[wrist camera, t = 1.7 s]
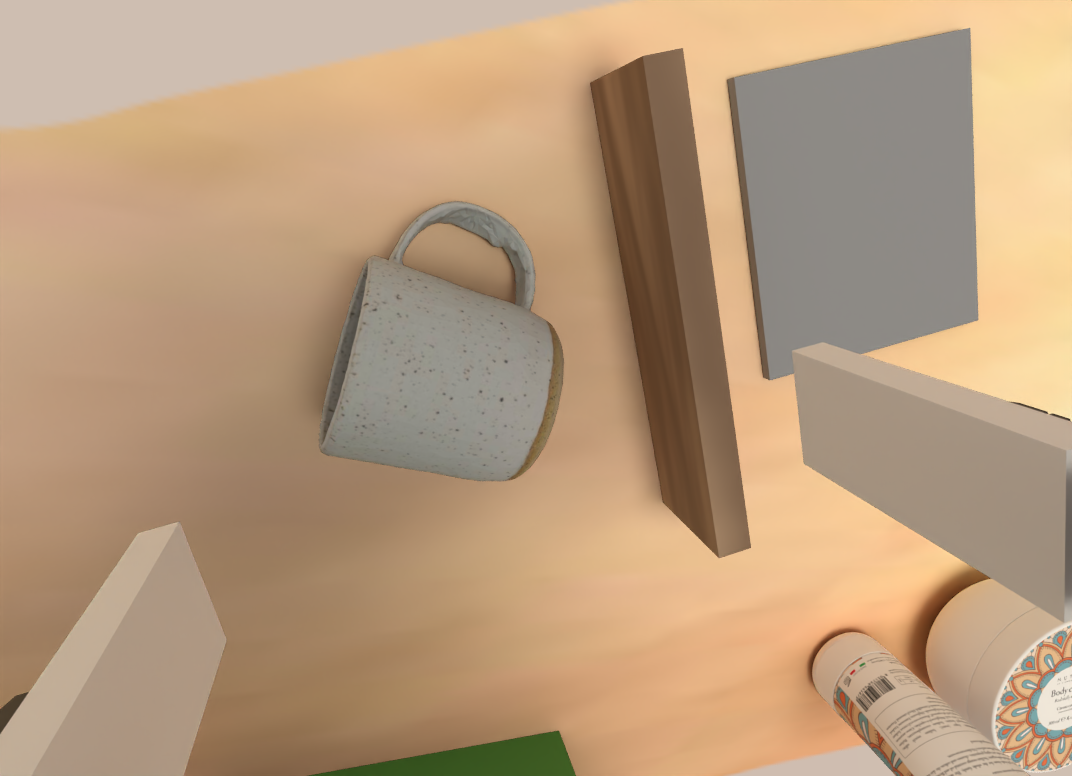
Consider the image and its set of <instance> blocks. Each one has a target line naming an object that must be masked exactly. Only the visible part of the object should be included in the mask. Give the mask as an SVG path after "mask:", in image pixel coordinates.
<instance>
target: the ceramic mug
mask: <svg viewBox="0 0 1072 776" xmlns="http://www.w3.org/2000/svg"><path fill="white" fill-rule="evenodd" d="M440 222H441V223H452V224H454V225H457V226H459V227H462V228H464V229H466V230H468V231H471V232H473V233H475V234H478V235H480V236H481V237H483V238H485V239H487V240H488V241H489V242H490V243H491V245H492V246H495V247H501V246H502V247H503V249H504V250H505V251H506V253H507V254H508V256H509V258H510V260H511V263H512V265H513V267H514V270H515V275H516V278H515V282H516V301H515V304H513V303H510V302H507V301H504V300H501V299H498V298H495V297H492V296H488V295H485V294H481V293H478V292H475V291H473V290H470V289H467V288H463V287H461V286H458V285H456V284H453V283H451V282H449V281H446V280H444V279H441V278H438V277H435V276H432V275H429V274H426V273H423V272H420V271H417V270H415V269H412V268H409V267H407V266H404V265H403V263H402V257H403V254H404V252H405V250H406V248H407V247H408V245H409V244H410V242H411V241H412V240H413V238H414V237H415V236H416V235H417V234H418V233H419V232H420V231H422V230H423V229H425V228H426V227H427V226H430V225H431V224H435V223H440ZM534 292H535V270H534V264H533V259H532V255H531V252H530V250H529V248H528V247H527V245H526V243H525V241H524V239H523V238H522V237H521V235H520V234H519V233H518V231H517V230H516V229H515V228H514V227H513V226H512V225H511V224H510V223H508V222H507V221H506V220H505V219H503V218H502V217H501V216H499V215H498V214H496V213H494V212H492V211H490V210H488V209H485V208H483V207H480V206H478V205H474V204H470V203H466V202H458V201H457V202H448V203H443V204H440V205H437V206H435V207H433V208H431V209H429V210H428V211H426V212H424V213H423V214H421V215H420V216H419V217H417V218H416V219H415V220H414V221H413V222H412V223H411V224H410V225H409V226H408V228H407V229H406V230H405V232H404V233H403V234H402V236H401V238H400V240H399V241H398V243H397V245H396V247H395V248H394V250H393V252H392V254H391V255H390V257H389V260H387V259H384V258H381V257H378V256H371V257H370V258H369V259H368V260H367V261H366V263H365V265H364V267H363V269H362V272H361V274H360V277H359V279H358V282H357V285H356V288H355V291H354V293H353V296H352V299H351V302H350V306H349V311H348V314H347V318H346V320H345V323H344V326H343V329H342V333H341V337H340V341H339V344H338V348H337V352H336V355H335V358H334V364H333V367H332V371H331V376H330V380H329V384H328V388H327V392H326V397H325V402H324V406H323V410H322V419H321V423H320V433H319V448H320V450H321V452H322V453H324V454H326V455H328V456H335V457H341V458H347V459H353V460H360V461H365V462H373V463H377V464H382V465H389V466H394V467H398V468H405V469H412V470H418V471H424V472H432V473H437V474H441V475H446V476H452V477H457V478H462V479H469V480H476V481H507V480H511V479H515V478H517V477H519V476H520V475H522V474H523V473H524V472H525V471H527V470H528V469H529V468H530V467H531V466H532V464H533V463H534V462H535V460H536V459H537V458H538V456H539V455H540V453H541V451H542V450H543V448H544V446H545V444H546V441H547V439H548V437H549V435H550V432H551V429H552V427H553V424H554V421H555V417H556V413H557V410H558V405H559V400H560V395H561V389H562V384H563V367H564V358H563V350H562V346H561V342H560V340H559V338H558V336H557V333H556V331H555V329H554V328H553V326H552V325H551V324H550V323H549V322H547V321H546V320H544V319H542V318H541V317H539V316H537V315H536V314H534V313H532V312H531V311H530V308H531V305H532V303H533V297H534Z"/></svg>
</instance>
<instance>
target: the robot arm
mask: <svg viewBox="0 0 1072 776" xmlns="http://www.w3.org/2000/svg"><path fill="white" fill-rule="evenodd" d="M792 358H793V367H794V377H795V386H796V395H797V405H798V414H799V423H800V433H801V442H802V452H803V461H804V464H805V465H807V466H808V467H810V468H812V469H813V470H815V471H817V472H818V473H820V474H822V475H823V476H825V477H826V478H828V479H830V480H831V481H833V482H835V483H836V484H838V485H840V486H841V487H843V488H844V489H846V490H848V491H849V492H851V493H853V494H854V495H856V496H857V497H859V498H861V499H862V500H864V501H866V502H867V503H869V504H871V505H872V506H874V507H875V508H877V509H879V510H880V511H882V512H884V513H885V514H887V515H889V516H890V517H892V518H893V519H895V520H897V521H898V522H900V523H902V524H903V525H905V526H906V527H908V528H910V529H911V530H913V531H915V532H916V533H918V534H920V535H921V536H923V537H924V538H926V539H928V540H929V541H931V542H933V543H934V544H936V545H938V546H939V547H941V548H942V549H944V550H946V551H947V552H949V553H951V554H952V555H954V556H956V557H957V558H959V559H960V560H962V561H964V562H965V563H967V564H969V565H970V566H972V567H973V568H975V569H977V570H978V571H980V572H982V573H983V574H985V575H987V576H988V577H990V578H991V579H993V580H995V581H996V582H998V583H1000V584H1001V585H1003V586H1005V587H1006V588H1008V589H1009V590H1011V591H1013V592H1014V593H1016V594H1018V595H1019V596H1021V597H1022V598H1024V599H1026V600H1027V601H1029V602H1031V603H1032V604H1034V605H1036V606H1037V607H1039V608H1040V609H1042V610H1044V611H1045V612H1047V613H1049V614H1050V615H1052V616H1054V617H1055V618H1057V619H1058V620H1060V621H1062V622H1063V623H1066V622H1068V621H1071V620H1072V422H1071V421H1070V419H1068V418H1065V417H1062V416H1059V415H1056V414H1050V415H1049V414H1048V413H1047V412H1046V411H1043V410H1040V409H1037V408H1034V407H1030V406H1027V405H1024V404H1021V403H1015V402H1008V401H1005V400H1002V399H999V398H996V397H993V396H989V395H986V394H983V393H980V392H977V391H974V390H971V389H968V388H964V387H961V386H958V385H955V384H952V383H949V382H946V381H942V380H939V379H936V378H933V377H930V376H927V375H924V374H921V373H917V372H914V371H911V370H908V369H905V368H902V367H899V366H895V365H892V364H889V363H886V362H883V361H880V360H877V359H874V358H870V357H867V356H864V355H861V354H858V353H855V352H852V351H849V350H845V349H842V348H839V347H836V346H833V345H830V344H827V343H823V342H822V343H818V344H815V345H811V346H808V347H804V348H800V349H797V350H793V351H792ZM226 642H227V639H226V637H225V634H224V632H223V629H222V627H221V624H220V622H219V619H218V617H217V614H216V612H215V609H214V606H213V604H212V601H211V599H210V596H209V594H208V591H207V589H206V586H205V584H204V581H203V579H202V576H201V574H200V571H199V569H198V566H197V564H196V561H195V559H194V556H193V554H192V551H191V549H190V546H189V544H188V541H187V539H186V536H185V534H184V531H183V529H182V526H181V524H180V521H179V522H176V523H172V524H169V525H165V526H161V527H158V528H154V529H151V530H147V531H143V532H140V533H138V534H137V536H136V537H135V538H134V540H133V541H132V543H131V544H130V546H129V547H128V549H127V550H126V552H125V553H124V554H123V556H122V557H121V559H120V560H119V562H118V563H117V565H116V566H115V568H114V569H113V571H112V572H111V573H110V575H109V576H108V578H107V579H106V581H105V582H104V584H103V585H102V587H101V588H100V589H99V591H98V592H97V594H96V595H95V597H94V598H93V600H92V601H91V603H90V604H89V605H88V607H87V608H86V610H85V611H84V613H83V614H82V616H81V617H80V619H79V620H78V622H77V623H76V624H75V626H74V627H73V629H72V630H71V632H70V633H69V635H68V636H67V638H66V639H65V640H64V642H63V643H62V645H61V646H60V648H59V649H58V651H57V652H56V654H55V655H54V657H53V658H52V659H51V661H50V662H49V664H48V665H47V667H46V668H45V670H44V671H43V673H42V674H41V675H40V677H39V678H38V680H37V681H36V683H35V684H34V686H33V687H32V689H31V690H30V692H27V693H24V694H20V695H17V696H15V697H14V698H13V699H12V700H10V701H9V702H8V703H7V704H6V705H5V706H4V707H3V708H1V709H0V776H184V773H185V770H186V767H187V764H188V760H189V757H190V754H191V751H192V748H193V745H194V742H195V739H196V735H197V732H198V729H199V726H200V723H201V720H202V717H203V714H204V710H205V707H206V704H207V701H208V698H209V695H210V692H211V689H212V685H213V682H214V679H215V676H216V673H217V670H218V667H219V663H220V660H221V657H222V654H223V651H224V648H225V645H226Z"/></svg>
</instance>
